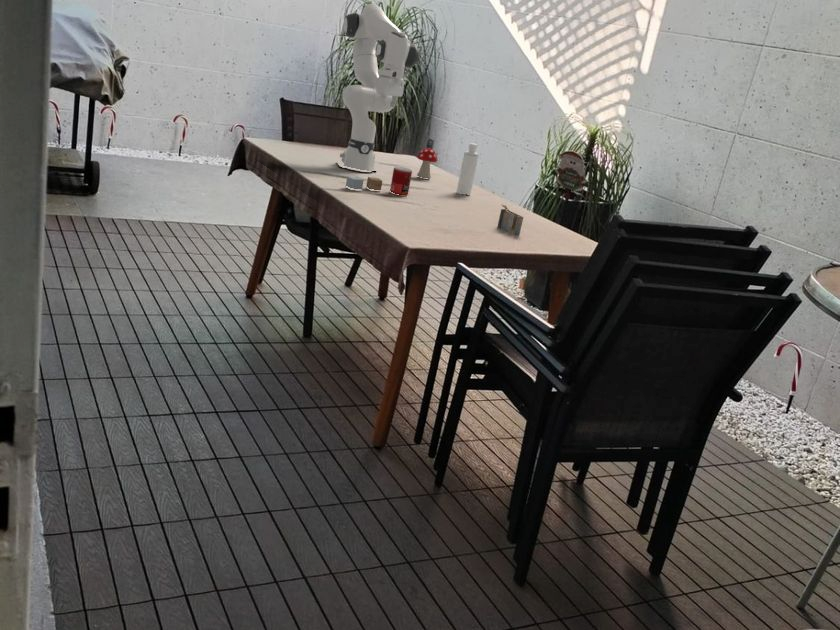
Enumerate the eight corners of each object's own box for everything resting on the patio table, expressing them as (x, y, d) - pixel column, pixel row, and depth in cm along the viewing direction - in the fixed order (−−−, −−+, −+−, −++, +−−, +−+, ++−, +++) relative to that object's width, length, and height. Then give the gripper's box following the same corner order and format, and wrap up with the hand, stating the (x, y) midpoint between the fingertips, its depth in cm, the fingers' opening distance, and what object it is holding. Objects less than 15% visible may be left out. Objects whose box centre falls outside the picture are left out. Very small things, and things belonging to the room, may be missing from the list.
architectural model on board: (496, 227, 319) (501, 203, 316) (502, 228, 321) (507, 204, 318) (512, 235, 310) (518, 211, 307) (519, 236, 312) (524, 211, 309)
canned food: (404, 197, 343) (408, 171, 339) (386, 192, 345) (391, 167, 341) (410, 195, 350) (414, 169, 346) (393, 190, 352) (397, 165, 348)
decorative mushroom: (434, 179, 404) (439, 149, 399) (432, 181, 396) (438, 151, 391) (414, 175, 404) (419, 145, 399) (412, 177, 396) (418, 147, 391)
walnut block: (365, 188, 346) (367, 176, 344) (376, 189, 348) (378, 178, 346) (369, 191, 342) (371, 179, 340) (380, 192, 344) (382, 180, 342)
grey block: (345, 188, 338) (347, 176, 336) (355, 188, 341) (357, 177, 339) (351, 191, 334) (353, 179, 332) (361, 191, 337) (363, 179, 335)
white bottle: (469, 196, 375) (480, 142, 367) (455, 193, 376) (466, 139, 368) (471, 194, 381) (482, 141, 373) (457, 191, 382) (468, 138, 374)
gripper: (396, 73, 348) (391, 105, 352) (376, 70, 330) (371, 104, 334) (409, 75, 346) (404, 108, 350) (390, 72, 328) (384, 107, 332)
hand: (387, 106), depth 342 cm, fingers open, 8 cm apart
